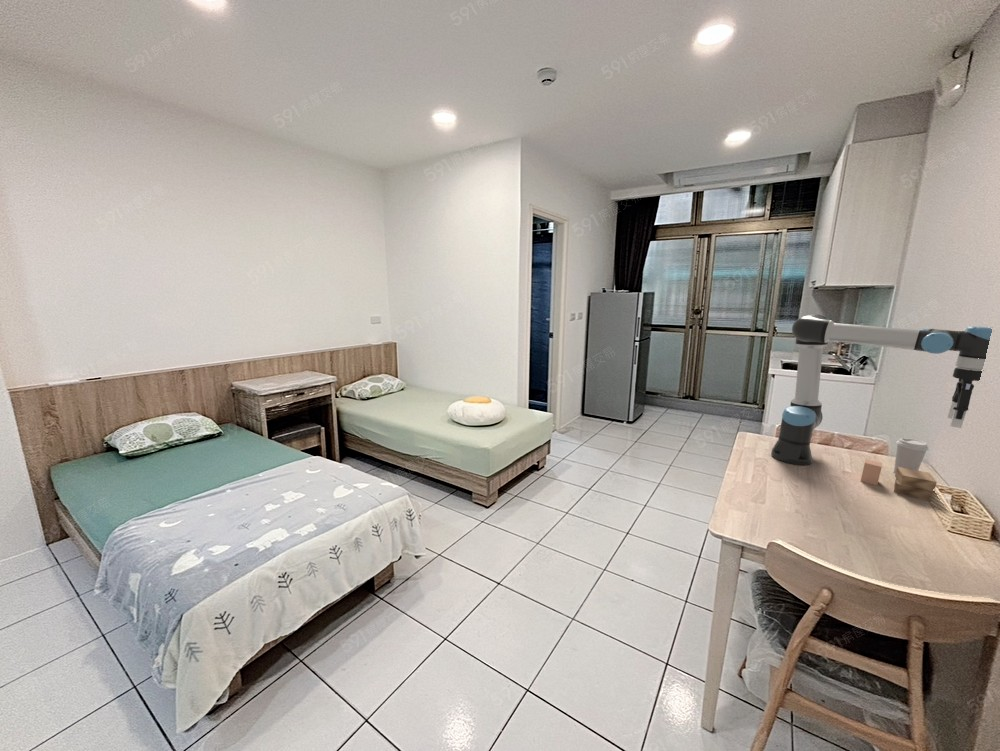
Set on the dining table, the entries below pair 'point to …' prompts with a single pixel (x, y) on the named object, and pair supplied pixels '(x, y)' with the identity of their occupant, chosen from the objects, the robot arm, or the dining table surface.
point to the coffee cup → (909, 453)
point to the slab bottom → (912, 491)
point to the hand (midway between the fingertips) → (953, 422)
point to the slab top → (915, 479)
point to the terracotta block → (871, 472)
